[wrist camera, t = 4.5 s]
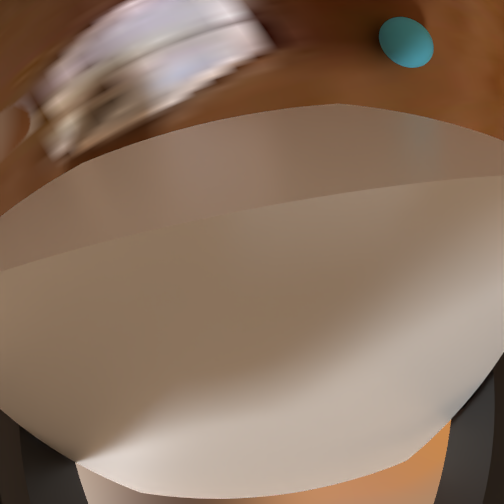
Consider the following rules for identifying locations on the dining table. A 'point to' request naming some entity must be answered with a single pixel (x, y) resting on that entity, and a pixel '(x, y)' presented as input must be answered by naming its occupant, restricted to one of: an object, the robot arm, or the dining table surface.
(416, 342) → the off-white square block
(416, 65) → the ball
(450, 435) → the robot arm
